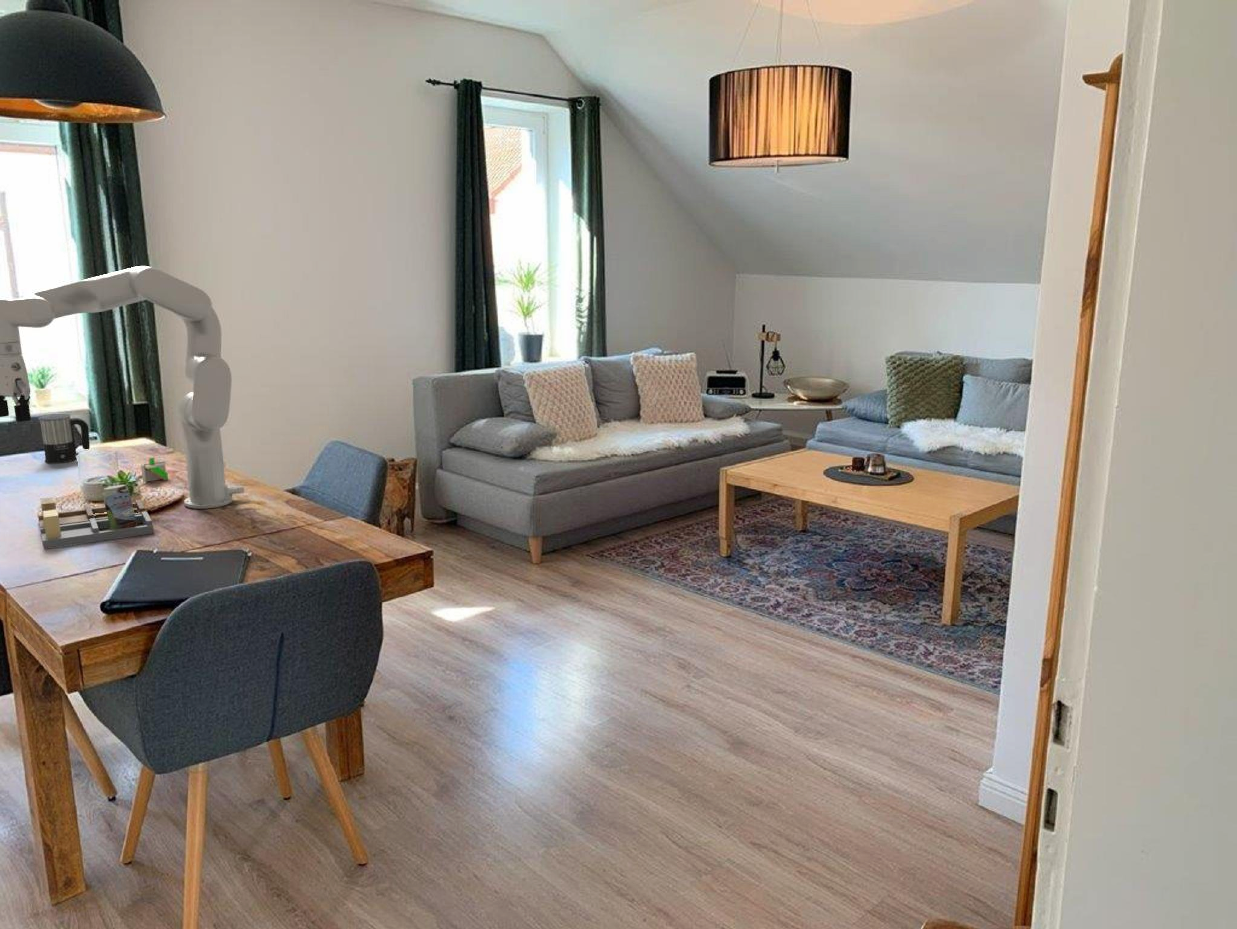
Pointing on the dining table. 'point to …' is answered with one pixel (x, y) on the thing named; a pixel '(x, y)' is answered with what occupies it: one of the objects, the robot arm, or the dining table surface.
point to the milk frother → (62, 437)
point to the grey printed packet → (119, 507)
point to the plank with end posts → (78, 512)
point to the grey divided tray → (87, 530)
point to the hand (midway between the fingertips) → (12, 418)
